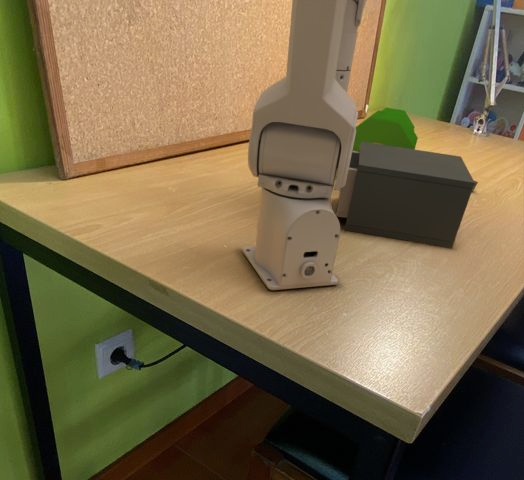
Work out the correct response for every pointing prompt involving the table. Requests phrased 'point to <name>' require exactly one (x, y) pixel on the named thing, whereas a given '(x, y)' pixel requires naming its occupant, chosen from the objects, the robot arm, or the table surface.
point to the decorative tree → (387, 129)
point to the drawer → (348, 187)
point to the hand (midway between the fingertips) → (310, 177)
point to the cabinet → (409, 194)
